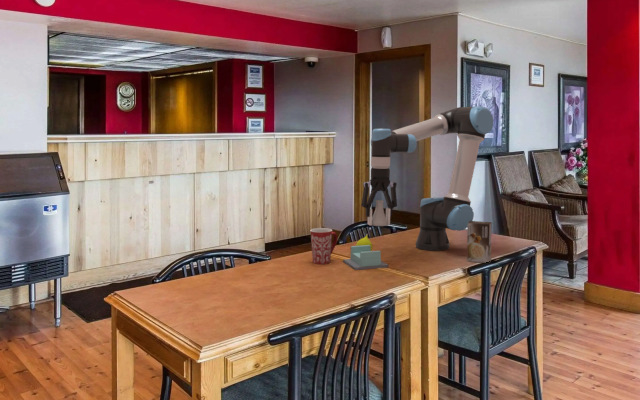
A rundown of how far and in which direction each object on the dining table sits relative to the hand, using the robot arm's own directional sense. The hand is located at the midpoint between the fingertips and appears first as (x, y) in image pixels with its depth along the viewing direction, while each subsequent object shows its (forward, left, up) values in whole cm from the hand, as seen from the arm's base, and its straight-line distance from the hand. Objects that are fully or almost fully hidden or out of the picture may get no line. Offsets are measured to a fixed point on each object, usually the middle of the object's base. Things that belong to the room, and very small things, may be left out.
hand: (378, 224), depth 225 cm
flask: (0, 0, 0) cm, 0 cm away
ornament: (0, -17, -16) cm, 23 cm away
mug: (+20, -10, -16) cm, 27 cm away
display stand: (+6, 0, -16) cm, 17 cm away
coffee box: (-41, +8, -16) cm, 45 cm away
